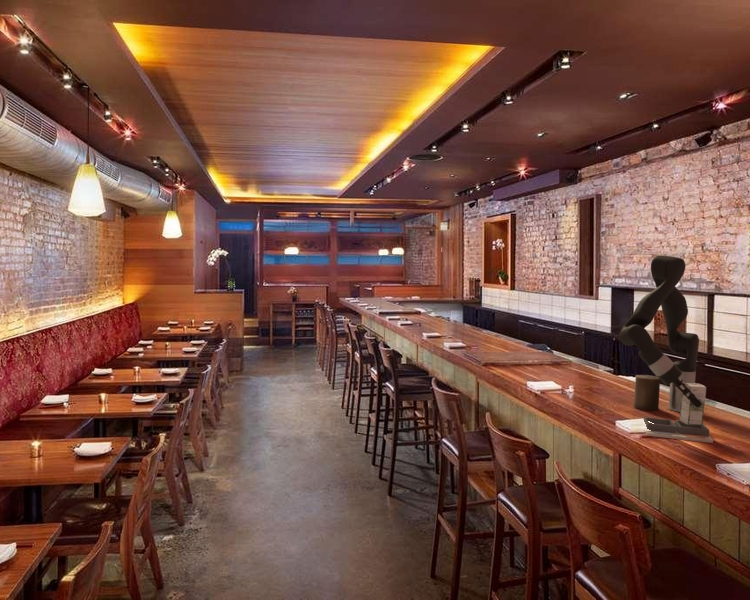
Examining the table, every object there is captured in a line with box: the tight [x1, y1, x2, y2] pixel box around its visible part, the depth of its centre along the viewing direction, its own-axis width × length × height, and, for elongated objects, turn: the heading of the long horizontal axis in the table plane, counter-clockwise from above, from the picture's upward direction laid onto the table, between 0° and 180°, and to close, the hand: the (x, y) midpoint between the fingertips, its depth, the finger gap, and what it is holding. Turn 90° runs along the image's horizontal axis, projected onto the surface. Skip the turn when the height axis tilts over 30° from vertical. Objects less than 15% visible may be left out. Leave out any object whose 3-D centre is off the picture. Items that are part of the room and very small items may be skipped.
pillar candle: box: [633, 373, 661, 412], centre depth 250 cm, size 10×10×15 cm
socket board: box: [642, 416, 714, 444], centre depth 214 cm, size 14×21×4 cm, turn 73°
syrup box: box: [678, 382, 707, 425], centre depth 213 cm, size 6×6×14 cm
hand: (697, 403), depth 213 cm, fingers closed on syrup box, 7 cm apart
